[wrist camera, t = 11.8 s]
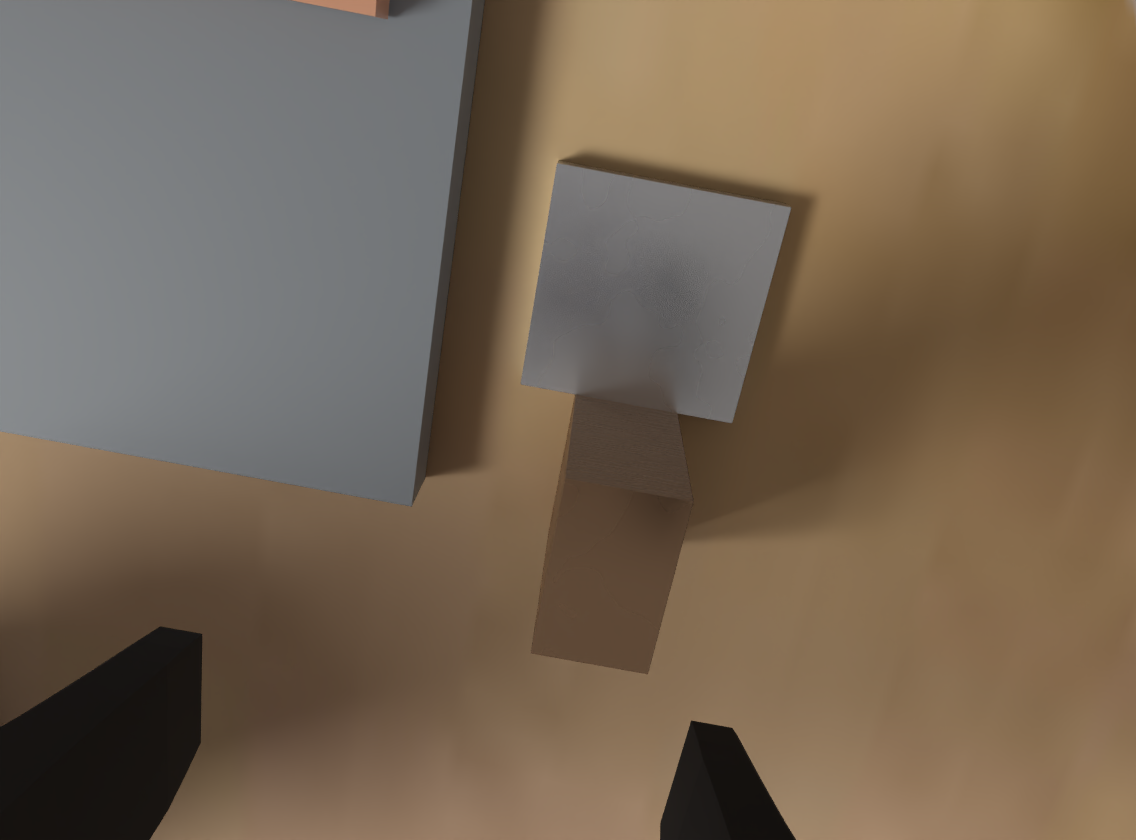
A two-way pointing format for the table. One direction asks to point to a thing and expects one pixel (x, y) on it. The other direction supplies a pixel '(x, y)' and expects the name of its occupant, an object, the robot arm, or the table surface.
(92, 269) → the board
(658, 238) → the turner
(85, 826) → the robot arm
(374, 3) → the tile
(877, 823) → the table surface
